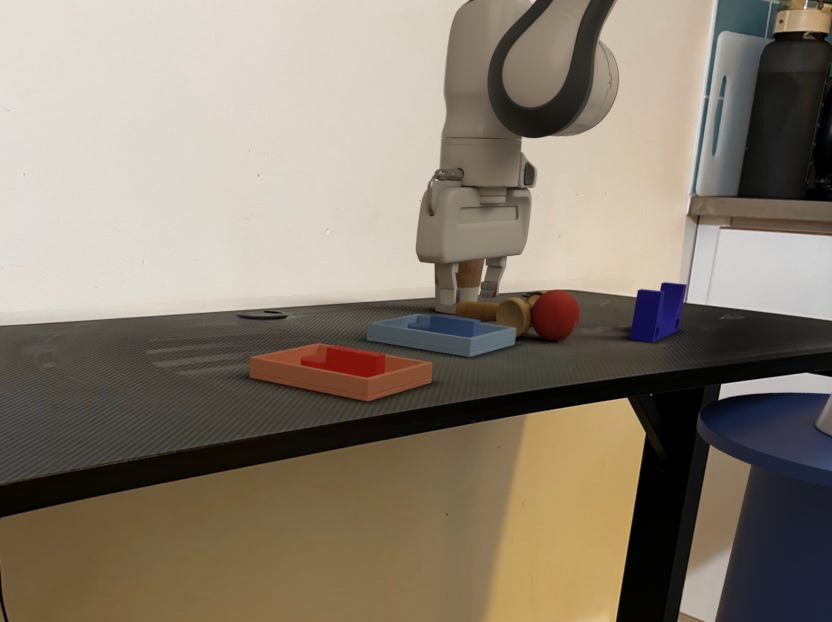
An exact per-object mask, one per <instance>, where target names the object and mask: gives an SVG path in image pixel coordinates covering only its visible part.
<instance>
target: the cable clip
mask: <svg viewBox="0 0 832 622" xmlns="http://www.w3.org/2000/svg"><path fill="white" fill-rule="evenodd" d="M687 286H688V284H686V283H677V282H666V281H664V282H661V283H660V288H659V290H655V289H644V288H640V289H637V292H636V298H635V304H634V310H633V317H632V322H631V328H630V335H629V340H633V341H639V342H649V343H654V342H656V341H659V340H661V339H663V338H665V337H668V336H670V335H672V334H674V333H676V332H679V329H680V323H681V319H682V312H683V308H684V303H685V302H684V301H685V297H686V291H687Z"/></svg>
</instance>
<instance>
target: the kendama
mask: <svg viewBox="0 0 832 622" xmlns="http://www.w3.org/2000/svg"><path fill="white" fill-rule="evenodd" d="M580 309H581V308H580V305H579V302H578V301H577V299H576V298H575V297H574V296H573V295H572V294H571V293H569V292H567V291H566V290H562V289H552V290H548V291H546V290H543V289H542V290H541V289H540V290H535V291H533V292H531V293H530V294H529V295H528V296H527V298H526V299H525V300H523V299H521V298H519V297H516V296H512V297H509V298H506V299H504V300H502V301H501V302H500V303H496V302H484V301H483V302H482V301H477V302H472V301H464V300H462V301H460V302H459V303H458V304H457V306H456V311H455V314H454V316H455V317H462V318H469V319H476V320H480V323H490V322H491V323H492V322H496V325H499V326H506V327H513V328H516V337H515V339H516V338H518V337H522V336H524V335H525V334H526V333H528V331H529V329H531V328H533V330H534V331H535V333H536V334H537V335H538V336H539V337H541V338H542V339H543V340H547V341H551V342H552V341H553V342H555V341H556V342H557V341H563V340H567V338H569V337H570V336H571V335H572V334H573V332H575V330H576V328H577V327H578V325H579V322H580V316H581V310H580Z"/></svg>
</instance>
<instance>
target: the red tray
mask: <svg viewBox="0 0 832 622" xmlns="http://www.w3.org/2000/svg"><path fill="white" fill-rule="evenodd" d="M331 346H334V345H332V344H327V343H321V342H316V343H313V344H312V343H311V344H308V345H303V346H298V347H293V348H288V349H287V348H286V349H283V350H278V351H273V352H269V353H264V354H258V355H253V356H250V357H249V378H250V379H253V380H259V381H264V382H270V383H273V384H279V385H284V386H288V387H294V388H299V389H304V390H309V391H314V392H319V393H323V394H328V395H333V396H338V397H341V398H342V397H343V398H347V399H348V398H349V399H352V400H357V401H362V402H371V401H374V400H378V399H381V398H385V397H387V396H388V397H389V396H391V395H395V394H398V393H401V392H404V391H408V390H412V389H415V388H418V387H421V386H424V385H429V384H431V383H432V381H433V380H432V379H433V377H432V376H433V365H434V364H433V362H432V361H427V360H426V361H425V360H422V359H421V360H420V359H414V358H410V357H409V358H407V357H403V356H397V355H391V354H386V353H384V354H385V373H384V374H380V375H376V376H372V377H368V378H365V377H360V376H355V375H349V374H344V373H339V372H333V371H328V370H323V369H317V368H312V367H307V366H302V365H301V357H304V356H310V355H322V356H326V348H327V347H331Z"/></svg>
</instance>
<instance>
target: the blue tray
mask: <svg viewBox="0 0 832 622" xmlns="http://www.w3.org/2000/svg"><path fill="white" fill-rule="evenodd" d="M430 316H431V315H430V314H429V315H428V314H422V313H415V314H409V315H404V316H398V317H393V318H387V319H383V320H377V321H372V322H367V328H366V329H367V330H366V341H369V342H374V343H380V344H386V345H387V344H388V345H393V346H399V347H404V348H405V347H406V348H412V349H417V350H423V351H430V352H437V353H443V354H448V355H455V356H460V357H467V358H472V357H475V356H479V355H482V354H487V353H490V352H493V351H497V350H500V349H504V348H508V347H512V346H515V345H516V338H517V337H516V328H513V327H506V326H499V325H497V324H492V323H486V322H480V329H479V336H475V337H471V338H467V337H461V336H454V335H448V334H441V333H434V332H428V331H421V330H415V329H408V328H407V327H408V324H409V323H430ZM515 337H516V338H515Z"/></svg>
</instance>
